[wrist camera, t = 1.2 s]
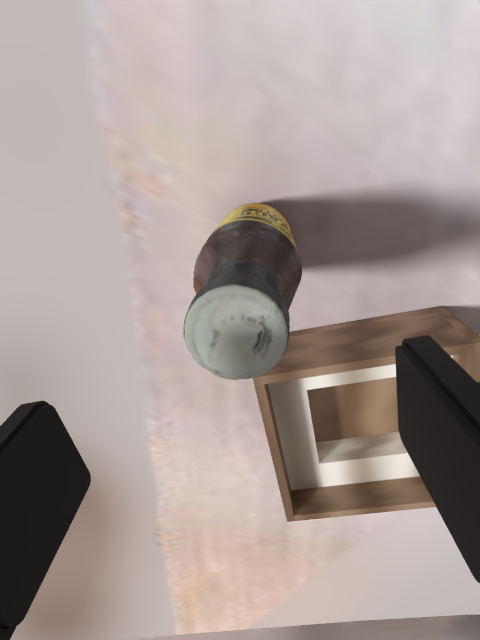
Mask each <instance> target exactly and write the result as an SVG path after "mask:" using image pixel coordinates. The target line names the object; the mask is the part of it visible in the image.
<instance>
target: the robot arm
mask: <svg viewBox="0 0 480 640" xmlns="http://www.w3.org/2000/svg"><path fill="white" fill-rule="evenodd" d="M395 360H396V384H397V408H398V429H399V434H400V438H401V441H402V443H403V445H404V447H405V449H406V451H407V452H408V454H409V456H410V458H411V460H412V462H413V464H414V466H415V467H416V469H417V471H418V473H419V475H420V477H421V479H422V481H423V483H424V484H425V486H426V488H427V490H428V492H429V494H430V496H431V498H432V499H433V501H434V503H435V505H436V507H437V509H438V511H439V513H440V514H441V516H442V518H443V520H444V522H445V524H446V526H447V528H448V530H449V531H450V533H451V535H452V537H453V539H454V541H455V543H456V545H457V546H458V548H459V550H460V552H461V554H462V556H463V558H464V559H465V561H466V563H467V565H468V567H469V569H470V571H471V573H472V574H473V576H474V578H475V579H476V580H477V582H479V583H480V382H476V381H475V380H474V379H473V378H472V377H471V376H470V375H469V374H468V373H467V372H466V371H465V370H464V369H463V368H462V367H461V366H460V365H459V364H458V363H457V362H456V361H455V360H454V359H453V358H452V357H451V356H450V355H449V354H448V353H447V352H446V351H445V350H444V349H443V348H442V347H441V346H440V345H439V344H438V343H437V342H436V341H435V340H434V339H433V338H432V337H430V336H429V335H424V336H418V337H412V338H406V339H403V341H402V345H399V346H396V348H395ZM90 481H91V477H90V473H89V470H88V469H87V467H86V465H85V463H84V461H83V460H82V458H81V456H80V454H79V452H78V450H77V448H76V446H75V445H74V443H73V441H72V439H71V437H70V436H69V433H68V432H67V430H66V428H65V426H64V424H63V422H62V421H61V419H60V417H59V415H58V413H57V411H56V410H55V408H54V407H53V406H52V405H49V404H48V403H47V402H45V401H38V402H33V403H26V404H22V405H20V406H19V407H18V408H17V409H16V410H15V411H14V412H13V413H12V414H11V416H9V418H8V419H7V420H6V421H5V422H4V423H3V424H2V425H1V426H0V640H10V638H11V636H12V634H13V632H14V630H15V628H16V626H17V625H18V624H20V623H21V622H22V621H23V619H24V617H25V616H26V614H27V612H28V610H29V608H30V606H31V604H32V602H33V600H34V598H35V596H36V594H37V592H38V590H39V587H40V585H41V583H42V581H43V579H44V577H45V575H46V573H47V571H48V569H49V567H50V565H51V563H52V561H53V559H54V557H55V555H56V553H57V551H58V549H59V547H60V545H61V543H62V541H63V539H64V537H65V535H66V532H67V531H68V529H69V527H70V524H71V523H72V520H73V518H74V516H75V514H76V512H77V510H78V508H79V506H80V504H81V502H82V500H83V498H84V496H85V494H86V492H87V490H88V488H89V486H90ZM126 640H480V615H456V616H438V617H421V618H405V619H404V618H403V619H386V620H368V621H353V622H340V623H327V624H315V625H301V626H289V627H275V628H262V629H249V630H236V631H223V632H210V633H198V634H186V635H174V636H161V637H149V638H137V639H126Z"/></svg>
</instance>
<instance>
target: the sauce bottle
mask: <svg viewBox="0 0 480 640" xmlns="http://www.w3.org/2000/svg"><path fill="white" fill-rule="evenodd" d="M301 276H302V266H301V260H300V256H299V252H298V250H297V247H296V244H295V240H294V237H293V235H292V232H291V229H290V227H289V224H288V222H287V221H286V219H285V218H284V217H283V215H282V214H281V213H280V212H278V211H277V210H276V209H274V208H272V207H270V206H268V205H265V204H260V203H251V204H245V205H242V206H240V207H238V208H236V209H235V210H233V211H232V212H231V213H230V214H229V215H228V216H227V217H226V218H225V219H224V221H223V222H222V223H221V224H220V225H219V226H218V227H217V228H216V230H215V231H214V232H213V233H212V234H211V236H210V237H209V238H208V240H207V242H206V243H205V245H204V246H203V248H202V250H201V252H200V254H199V255H198V258H197V261H196V264H195V270H194V289H195V292H196V296H195V297H194V299H193V301H192V302H191V305H190V307H189V309H188V312H187V314H186V317H185V321H184V339H185V341H186V345H187V348H188V350H189V352H190V353H191V355H192V357H193V358H194V360H195V361H196V362H197V363H198V364H199V365H201V366H202V367H203V368H205V369H207V370H208V371H210V372H211V373H213V374H214V375H216V376H219V377H222V378H226V379H232V380H237V379H249V378H254V377H258V376H260V375H262V374H264V373H266V372H268V371H269V370H270V369H271V368H273V367H274V366H275V365H276V364H277V363H278V361H279V360H280V359H281V358H282V356H283V355H284V353H285V351H286V349H287V345H288V340H289V328H290V326H289V312H288V310H289V307H290V305H291V303H292V300H293V298H294V295H295V293H296V290H297V288H298V286H299V283H300V280H301Z"/></svg>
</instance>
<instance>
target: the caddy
mask: <svg viewBox="0 0 480 640" xmlns="http://www.w3.org/2000/svg"><path fill="white" fill-rule="evenodd" d="M424 335H429V336H430V337H432V338H433V339H434V340H435V341H436V342H437V343H438V344H439V345H440V346H441V347H442V348H443V349H444V350H445V351H446V352H447V353H448V354H449V355H450V356H451V357H452V358H453V359H454V360H455V361H456V362H457V363H458V364H459V365H460V366H461V367H462V368H463V369H464V370H465V371H466V372H467V373H468V374H469V375H470V376H471V377H472V378H473V379H474V380H475V381H476V382H480V337H479V336H478V335H477V334H475V333H474V332H473V331H472V330H470V329H469V328H468V327H467V326H466V325H464V324H463V323H462V322H461V321H459V320H458V319H457V318H456V317H454V316H453V315H452V314H451V313H449V312H448V311H447V310H446V309H444V308H443V307H442V306H439V307H433V308H428V309H422V310H416V311H410V312H404V313H398V314H393V315H387V316H381V317H375V318H369V319H363V320H358V321H352V322H346V323H340V324H334V325H328V326H323V327H317V328H311V329H305V330H299V331H293V332H289V340H288V345H287V349H286V351H285V353H284V355H283V356H282V358H281V359H280V360H279V361H278V363H277V364H276V365H275V366H274V367H273V368H271V369H270V370H269V371H268V372H266V373H264V374H262V375H260V376H258V377H254V378H253V381H254V385H255V389H256V393H257V398H258V402H259V406H260V410H261V414H262V418H263V422H264V427H265V431H266V435H267V439H268V443H269V447H270V451H271V456H272V460H273V464H274V468H275V472H276V476H277V480H278V485H279V489H280V493H281V497H282V501H283V505H284V509H285V514H286V518H287V522H290V521H300V520H310V519H320V518H329V517H339V516H349V515H359V514H369V513H379V512H389V511H399V510H409V509H418V508H429V507H436V505H435V503H434V501H433V499H432V498H431V496H430V494H429V492H428V490H427V488H426V486H425V484H424V483H423V481H422V479H421V477H420V475H419V473H418V471H417V469H416V467H415V466H414V464H413V462H412V460H411V458H410V456H409V454H408V452H407V451H406V449H405V447H404V445H403V443H402V441H401V438H400V434H399V429H398V408H397V384H396V360H395V348H396V346H399V345H402V341H403V339H406V338H412V337H418V336H424Z"/></svg>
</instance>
